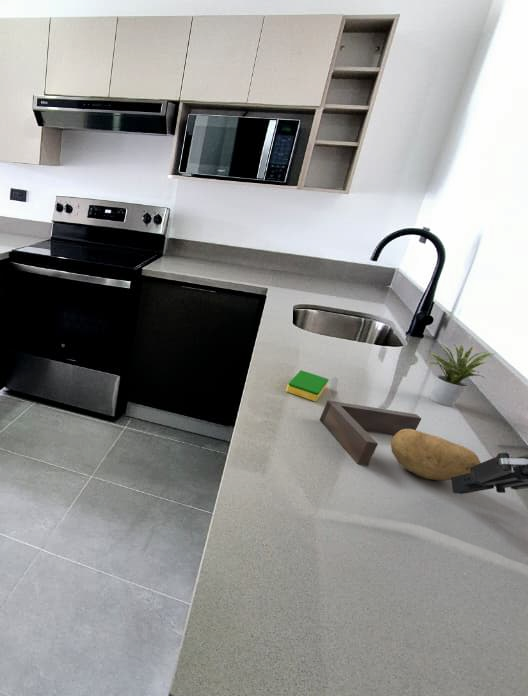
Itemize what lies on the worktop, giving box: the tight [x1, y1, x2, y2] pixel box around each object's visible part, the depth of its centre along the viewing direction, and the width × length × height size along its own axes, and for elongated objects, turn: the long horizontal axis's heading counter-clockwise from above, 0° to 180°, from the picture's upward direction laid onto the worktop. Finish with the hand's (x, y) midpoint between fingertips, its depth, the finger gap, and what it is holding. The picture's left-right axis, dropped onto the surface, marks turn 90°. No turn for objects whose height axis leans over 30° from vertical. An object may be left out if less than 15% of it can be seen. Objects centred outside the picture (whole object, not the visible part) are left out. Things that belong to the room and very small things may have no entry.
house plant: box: [426, 341, 495, 407], centre depth 131 cm, size 14×14×16 cm
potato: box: [390, 429, 482, 481], centre depth 94 cm, size 10×14×8 cm
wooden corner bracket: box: [319, 399, 422, 466], centre depth 103 cm, size 20×18×5 cm
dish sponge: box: [285, 369, 330, 402], centre depth 128 cm, size 7×14×2 cm, turn 143°
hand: (456, 485), depth 87 cm, fingers closed
